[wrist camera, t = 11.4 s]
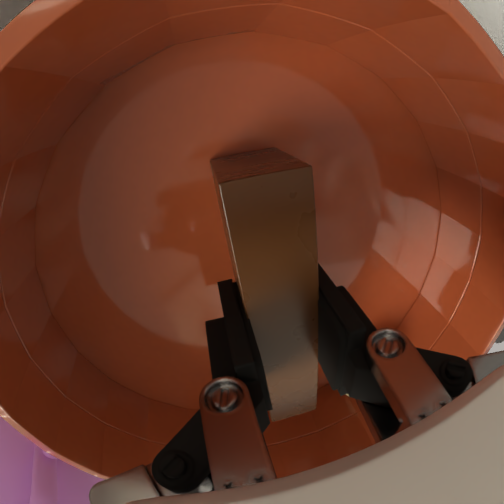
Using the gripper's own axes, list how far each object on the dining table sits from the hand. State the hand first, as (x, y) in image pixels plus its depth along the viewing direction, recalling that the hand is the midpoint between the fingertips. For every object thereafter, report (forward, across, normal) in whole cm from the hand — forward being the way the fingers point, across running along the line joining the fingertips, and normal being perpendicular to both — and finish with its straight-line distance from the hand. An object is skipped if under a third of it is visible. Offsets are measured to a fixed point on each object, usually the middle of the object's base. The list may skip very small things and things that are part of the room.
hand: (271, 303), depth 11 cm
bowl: (+2, 0, 0) cm, 2 cm away
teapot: (+2, +23, +12) cm, 26 cm away
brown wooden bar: (+1, 0, 0) cm, 1 cm away
